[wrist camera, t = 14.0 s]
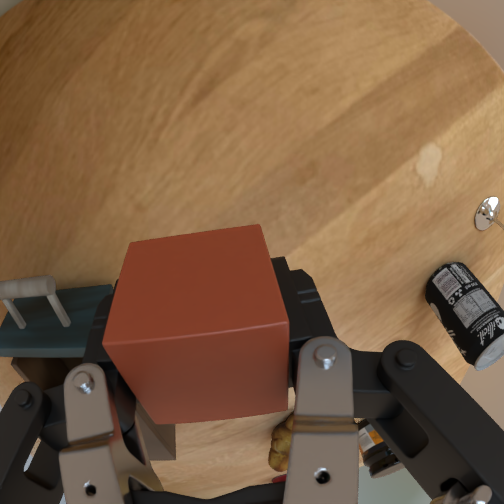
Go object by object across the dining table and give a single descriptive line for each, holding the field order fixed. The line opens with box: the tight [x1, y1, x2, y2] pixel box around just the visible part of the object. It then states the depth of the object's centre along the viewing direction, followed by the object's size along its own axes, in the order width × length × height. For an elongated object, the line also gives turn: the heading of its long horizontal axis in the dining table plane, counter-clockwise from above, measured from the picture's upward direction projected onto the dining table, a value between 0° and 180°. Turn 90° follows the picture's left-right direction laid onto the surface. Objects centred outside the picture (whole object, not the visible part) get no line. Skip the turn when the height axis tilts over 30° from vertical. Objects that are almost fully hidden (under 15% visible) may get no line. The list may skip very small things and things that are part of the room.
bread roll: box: [268, 413, 294, 472], centre depth 46 cm, size 13×10×8 cm
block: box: [102, 224, 289, 424], centre depth 9 cm, size 4×4×4 cm
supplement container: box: [358, 419, 405, 478], centre depth 52 cm, size 10×10×12 cm
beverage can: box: [425, 262, 504, 371], centre depth 29 cm, size 7×7×12 cm
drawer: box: [0, 275, 114, 390], centre depth 26 cm, size 18×11×7 cm, turn 3°
